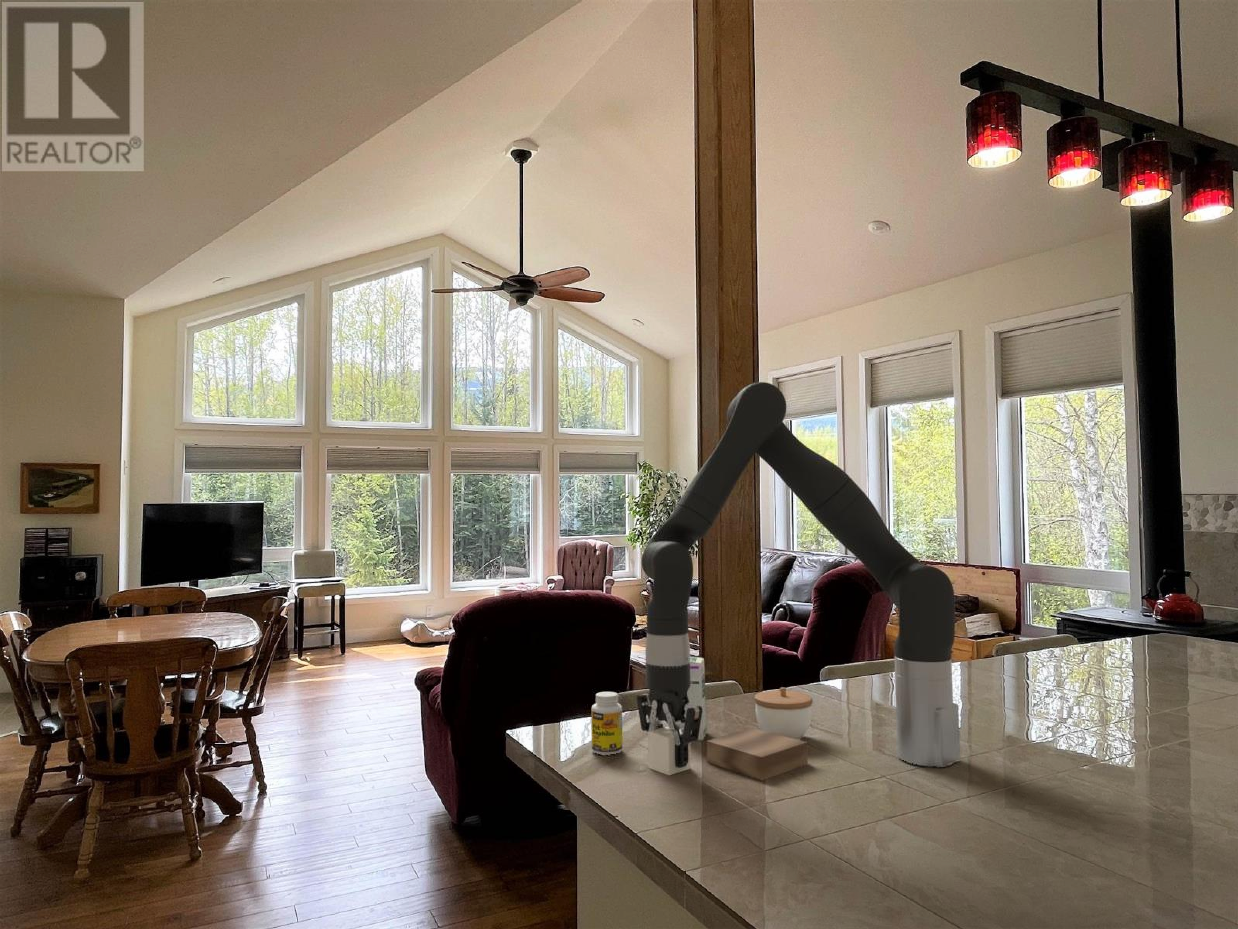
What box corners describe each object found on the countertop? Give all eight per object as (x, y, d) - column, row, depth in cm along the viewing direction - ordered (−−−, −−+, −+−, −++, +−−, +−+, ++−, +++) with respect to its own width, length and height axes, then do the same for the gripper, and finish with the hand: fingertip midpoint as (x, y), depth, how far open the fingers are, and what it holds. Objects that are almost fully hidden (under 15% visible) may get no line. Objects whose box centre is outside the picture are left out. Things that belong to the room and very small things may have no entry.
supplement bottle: (587, 755, 139) (586, 696, 140) (597, 746, 144) (597, 689, 145) (617, 758, 137) (616, 698, 138) (626, 748, 143) (625, 691, 143)
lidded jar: (814, 748, 142) (813, 695, 142) (754, 745, 144) (753, 693, 144) (812, 731, 152) (811, 682, 153) (756, 729, 154) (755, 681, 155)
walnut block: (807, 766, 133) (807, 742, 133) (762, 782, 125) (761, 757, 126) (752, 750, 142) (752, 728, 142) (707, 764, 134) (706, 741, 135)
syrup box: (704, 741, 147) (702, 662, 148) (672, 739, 148) (671, 661, 149) (706, 732, 152) (705, 656, 153) (676, 731, 154) (675, 656, 154)
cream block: (690, 768, 131) (690, 732, 132) (668, 775, 128) (668, 738, 128) (669, 761, 135) (669, 726, 135) (648, 768, 132) (647, 731, 132)
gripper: (714, 663, 130) (716, 768, 129) (655, 651, 140) (656, 748, 139) (681, 669, 125) (683, 778, 124) (623, 657, 136) (624, 757, 135)
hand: (669, 762), depth 132 cm, fingers closed on cream block, 5 cm apart
